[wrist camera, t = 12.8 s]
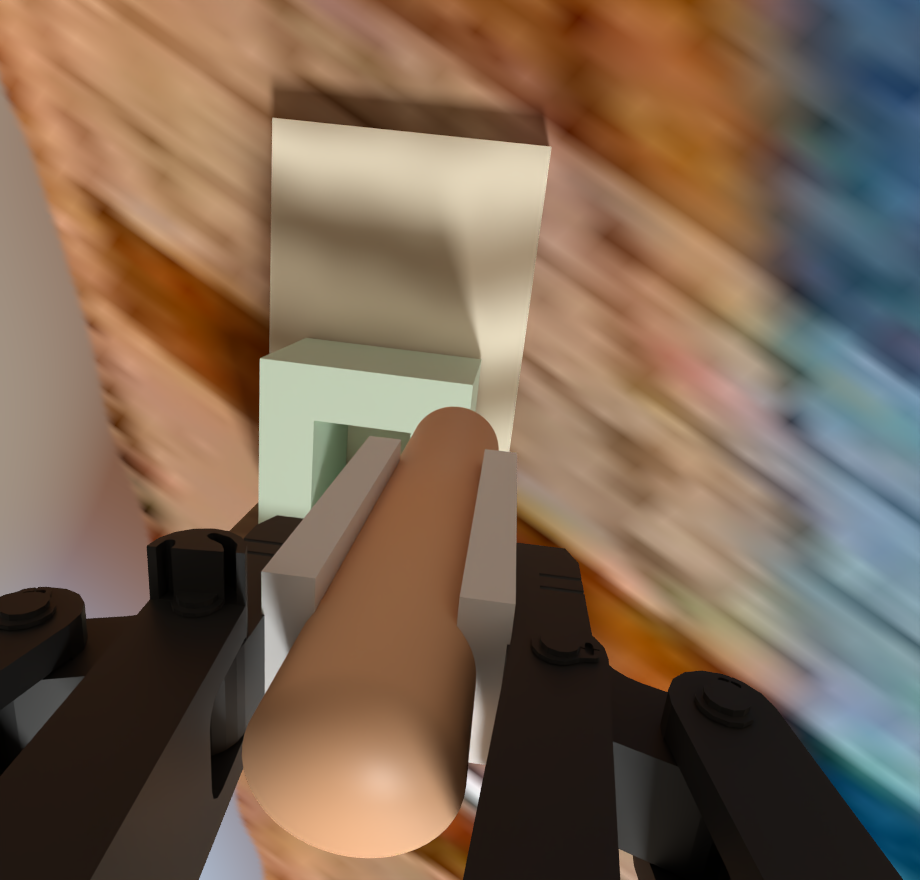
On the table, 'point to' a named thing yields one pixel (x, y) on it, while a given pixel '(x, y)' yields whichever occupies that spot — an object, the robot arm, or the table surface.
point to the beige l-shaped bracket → (406, 251)
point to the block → (342, 410)
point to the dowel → (382, 667)
